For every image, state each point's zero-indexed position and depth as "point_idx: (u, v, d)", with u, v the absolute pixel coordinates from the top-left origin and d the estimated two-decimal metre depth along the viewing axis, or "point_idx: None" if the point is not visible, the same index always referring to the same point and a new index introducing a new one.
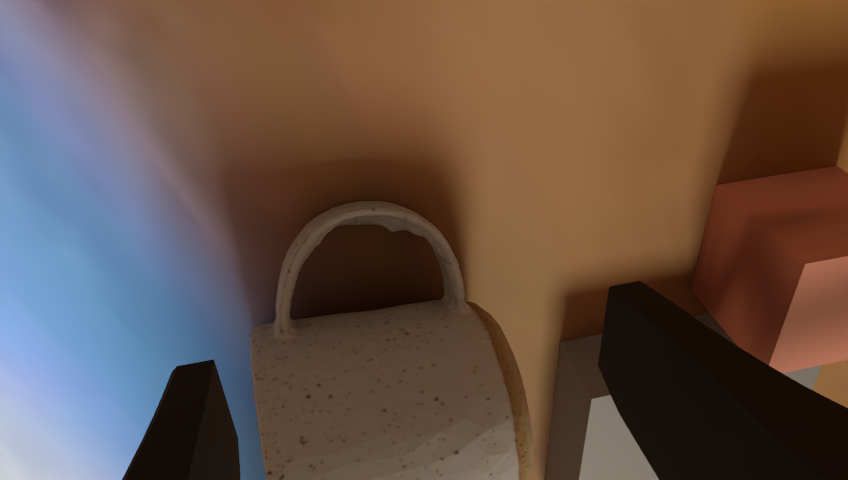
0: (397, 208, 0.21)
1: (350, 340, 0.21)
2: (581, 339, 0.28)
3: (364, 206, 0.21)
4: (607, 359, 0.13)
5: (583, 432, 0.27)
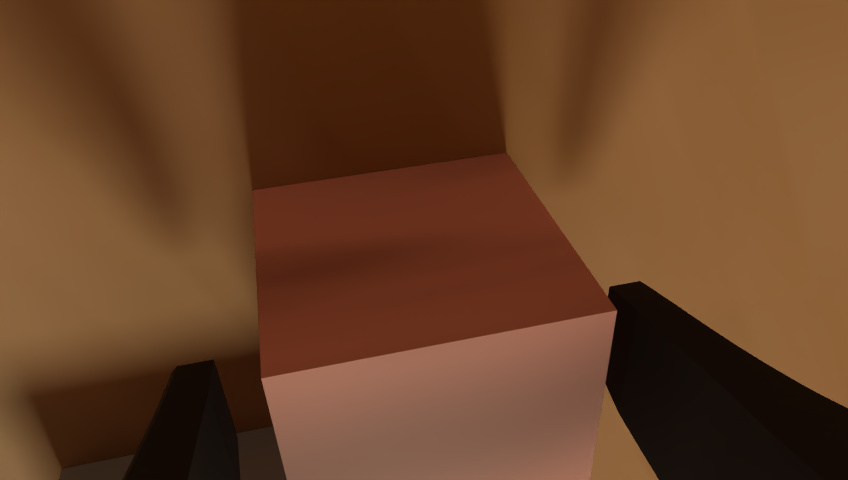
0: None
1: None
2: (101, 463, 0.16)
3: None
4: None
5: None
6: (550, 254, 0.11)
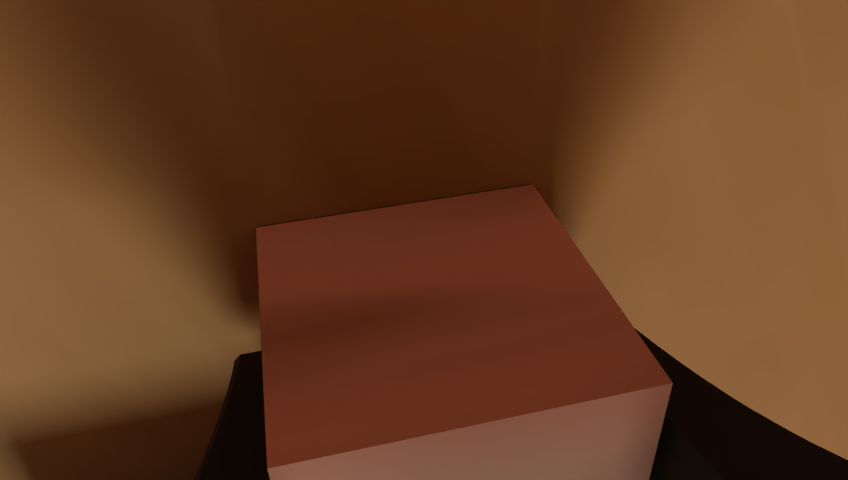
0: None
1: None
2: None
3: None
4: None
5: None
6: (592, 311, 0.10)
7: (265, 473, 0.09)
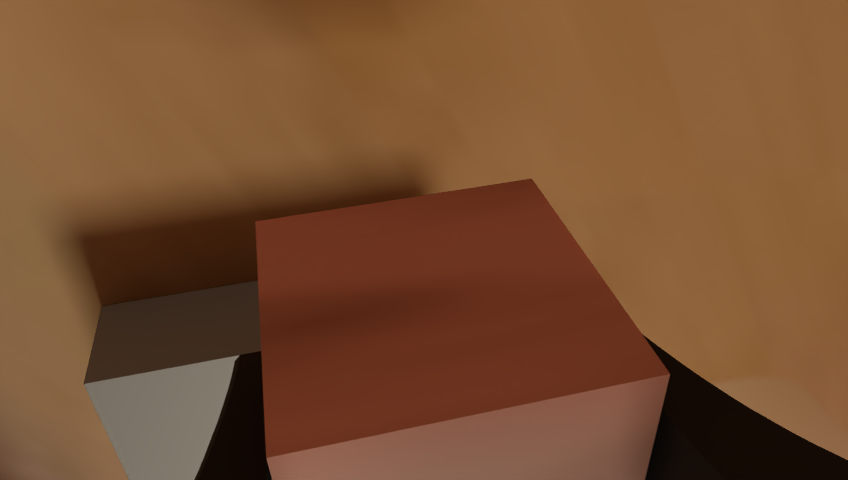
0: None
1: None
2: (132, 303, 0.20)
3: None
4: None
5: (110, 432, 0.19)
6: (589, 303, 0.10)
7: (265, 473, 0.09)
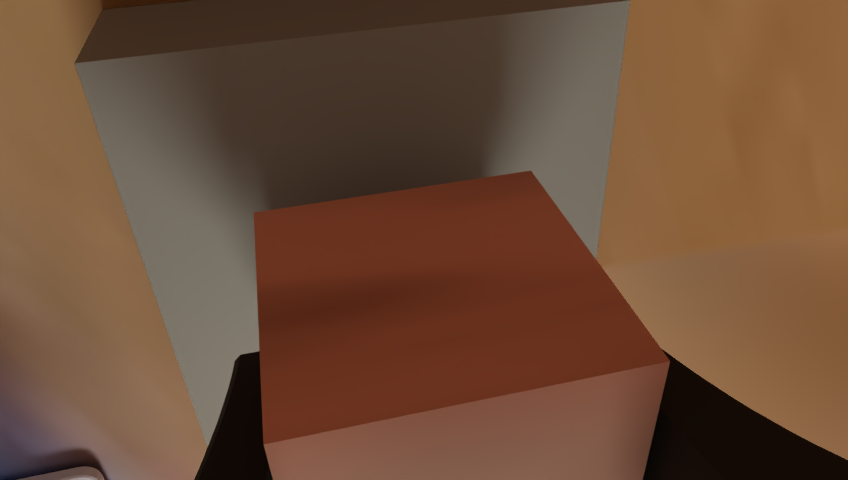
0: None
1: None
2: (147, 6, 0.14)
3: None
4: None
5: (115, 171, 0.13)
6: (589, 292, 0.10)
7: (265, 473, 0.09)
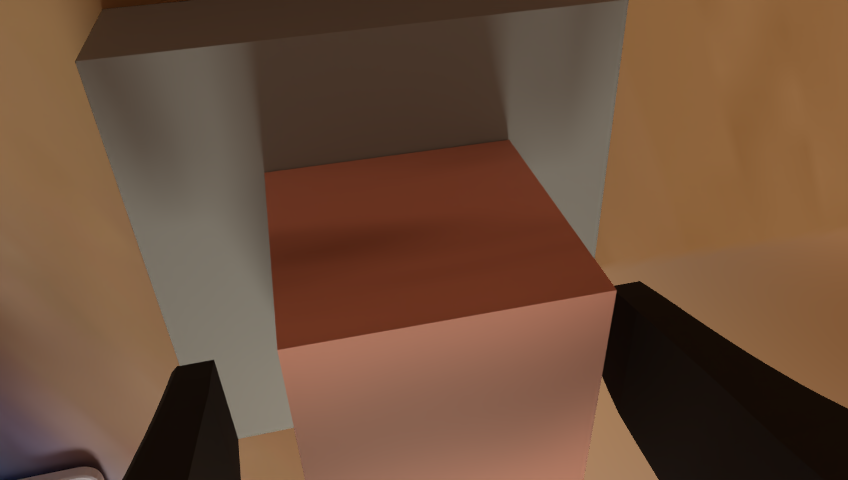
0: None
1: None
2: None
3: None
4: (607, 359, 0.13)
5: (115, 169, 0.13)
6: (553, 237, 0.11)
7: None
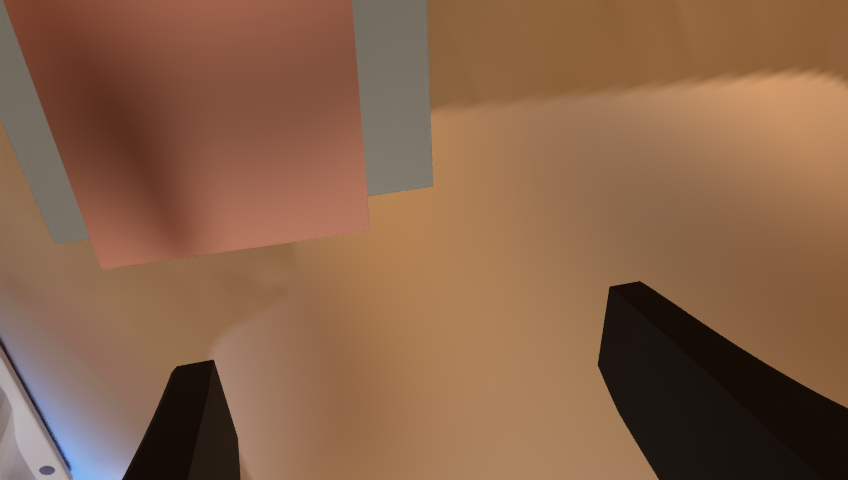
0: None
1: None
2: None
3: None
4: (607, 359, 0.13)
5: None
6: None
7: None
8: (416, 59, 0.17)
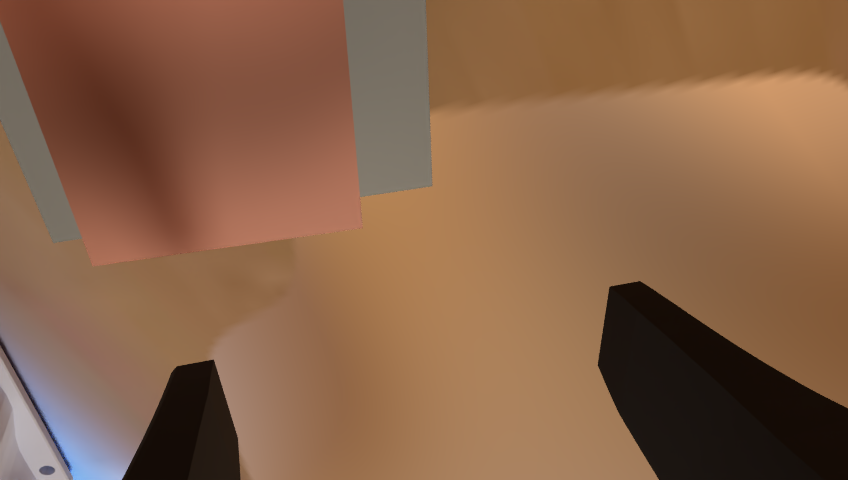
0: None
1: None
2: None
3: None
4: (607, 359, 0.13)
5: None
6: None
7: None
8: (415, 58, 0.17)
